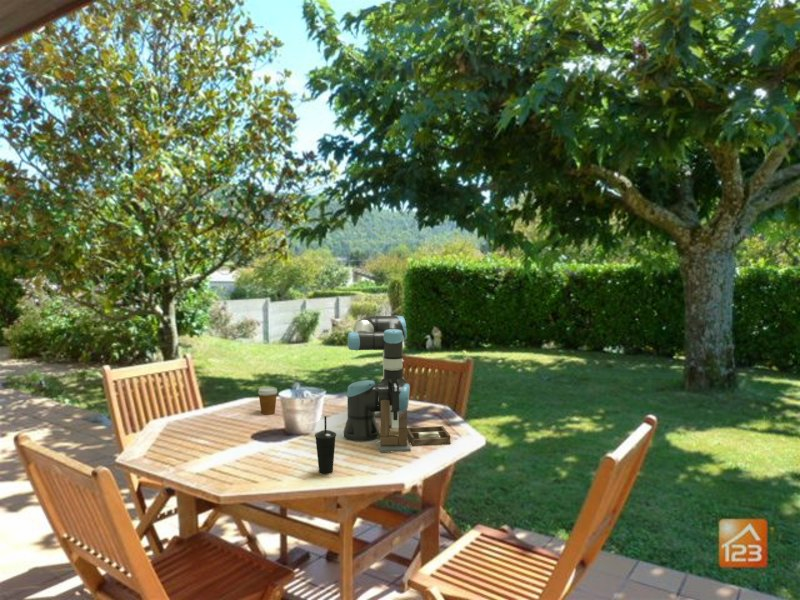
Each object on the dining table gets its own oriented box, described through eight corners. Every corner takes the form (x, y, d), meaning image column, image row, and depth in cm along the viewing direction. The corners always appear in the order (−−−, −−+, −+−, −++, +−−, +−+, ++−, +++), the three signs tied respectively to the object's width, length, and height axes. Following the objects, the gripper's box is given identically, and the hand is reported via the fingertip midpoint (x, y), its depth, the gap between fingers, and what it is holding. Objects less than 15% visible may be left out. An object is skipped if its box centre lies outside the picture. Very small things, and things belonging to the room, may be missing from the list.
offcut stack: (418, 444, 238) (418, 434, 238) (417, 442, 241) (417, 432, 241) (440, 443, 239) (440, 433, 239) (438, 441, 243) (438, 431, 242)
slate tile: (380, 452, 228) (380, 450, 228) (377, 443, 239) (377, 441, 239) (410, 451, 230) (410, 448, 230) (406, 442, 240) (406, 440, 240)
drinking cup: (337, 467, 211) (337, 413, 210) (335, 475, 204) (335, 419, 202) (316, 468, 211) (315, 413, 210) (313, 475, 203) (313, 419, 202)
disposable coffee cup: (254, 413, 287) (254, 389, 286) (271, 409, 293) (271, 386, 292) (264, 417, 280) (263, 392, 279) (281, 413, 286) (281, 389, 285)
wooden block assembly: (407, 446, 232) (407, 401, 231) (380, 446, 232) (380, 401, 231) (407, 443, 236) (406, 399, 235) (380, 443, 236) (380, 399, 235)
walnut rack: (411, 446, 236) (411, 437, 235) (406, 435, 250) (406, 427, 249) (450, 444, 238) (450, 435, 238) (442, 434, 252) (442, 426, 252)
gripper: (406, 373, 222) (407, 431, 224) (398, 363, 243) (398, 417, 244) (387, 373, 221) (387, 432, 222) (380, 364, 242) (381, 417, 243)
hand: (393, 424), depth 233 cm, fingers open, 8 cm apart
